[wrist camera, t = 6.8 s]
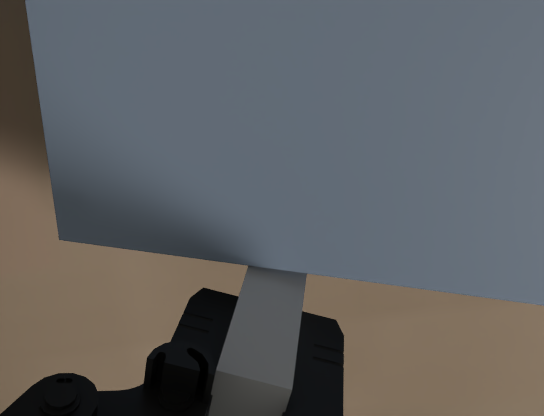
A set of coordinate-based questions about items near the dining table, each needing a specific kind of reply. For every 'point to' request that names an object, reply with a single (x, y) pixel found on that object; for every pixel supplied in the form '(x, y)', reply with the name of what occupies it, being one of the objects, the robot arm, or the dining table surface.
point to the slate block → (303, 135)
